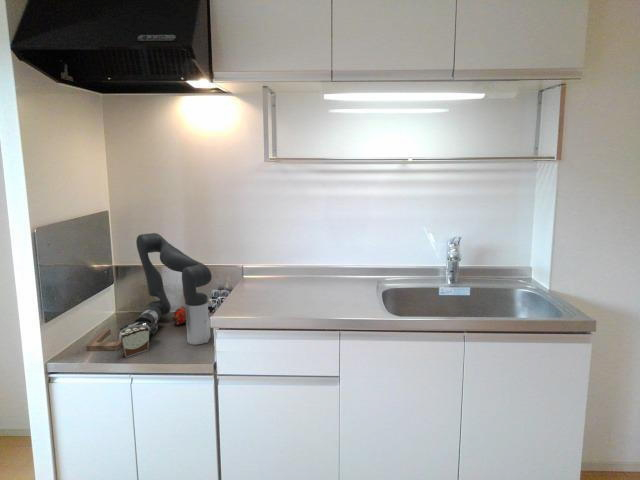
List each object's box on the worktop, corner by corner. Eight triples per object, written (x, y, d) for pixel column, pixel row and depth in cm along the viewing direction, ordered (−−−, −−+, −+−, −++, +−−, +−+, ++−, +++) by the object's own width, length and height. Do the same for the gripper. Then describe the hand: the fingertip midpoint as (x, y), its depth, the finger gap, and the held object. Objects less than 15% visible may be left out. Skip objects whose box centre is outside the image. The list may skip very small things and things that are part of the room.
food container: (144, 344, 186) (143, 322, 185) (151, 348, 182) (150, 325, 180) (115, 353, 178) (113, 330, 176) (122, 358, 173) (120, 334, 172)
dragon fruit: (193, 321, 216) (177, 333, 206) (181, 310, 217) (164, 322, 207) (200, 310, 212) (183, 322, 202) (187, 299, 213) (170, 310, 203)
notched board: (134, 332, 198) (134, 328, 198) (117, 350, 181) (117, 345, 180) (106, 333, 198) (105, 328, 198) (86, 350, 180) (86, 346, 180)
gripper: (129, 312, 194) (114, 327, 178) (162, 312, 195) (149, 326, 179) (131, 328, 196) (115, 344, 180) (163, 328, 196) (151, 344, 180)
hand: (132, 335), depth 179 cm, fingers open, 8 cm apart
